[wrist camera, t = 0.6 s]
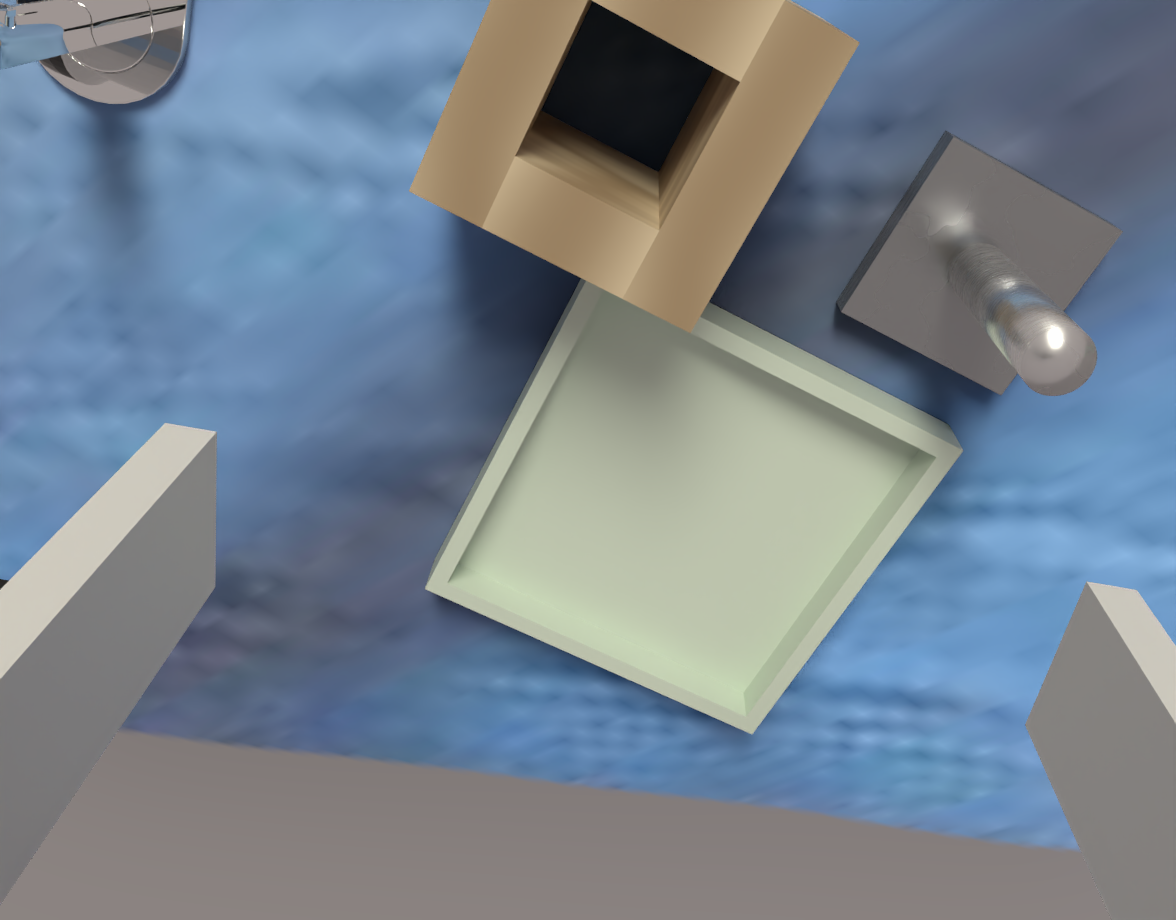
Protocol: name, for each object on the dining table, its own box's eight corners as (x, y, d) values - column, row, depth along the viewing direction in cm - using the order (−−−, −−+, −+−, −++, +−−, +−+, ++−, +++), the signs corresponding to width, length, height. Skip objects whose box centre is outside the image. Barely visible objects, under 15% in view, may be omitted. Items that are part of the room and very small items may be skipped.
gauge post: (836, 301, 36) (885, 408, 28) (945, 130, 33) (1033, 196, 25) (992, 383, 36) (1081, 507, 29) (1110, 222, 34) (1242, 313, 26)
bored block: (454, 139, 34) (408, 191, 28) (570, -125, 31) (548, -134, 24) (683, 258, 35) (690, 333, 29) (819, 16, 32) (859, 42, 26)
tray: (434, 559, 41) (424, 588, 39) (598, 245, 35) (595, 263, 33) (748, 700, 43) (752, 734, 41) (948, 424, 37) (963, 450, 35)
